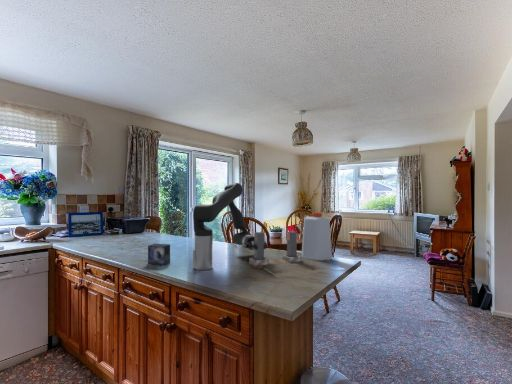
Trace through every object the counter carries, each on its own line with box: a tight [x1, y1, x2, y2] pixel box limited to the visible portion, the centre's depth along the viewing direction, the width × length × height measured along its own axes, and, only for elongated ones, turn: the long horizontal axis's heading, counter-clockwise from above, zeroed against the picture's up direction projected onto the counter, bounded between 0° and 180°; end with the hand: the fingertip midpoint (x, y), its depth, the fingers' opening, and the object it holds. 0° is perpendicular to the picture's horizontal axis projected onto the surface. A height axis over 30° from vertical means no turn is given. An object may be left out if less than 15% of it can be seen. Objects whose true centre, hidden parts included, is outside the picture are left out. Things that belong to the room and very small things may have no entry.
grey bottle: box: [301, 211, 333, 261], centre depth 167 cm, size 15×15×28 cm
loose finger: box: [253, 231, 266, 260], centre depth 150 cm, size 5×4×16 cm
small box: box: [147, 243, 171, 266], centre depth 155 cm, size 11×6×10 cm, turn 76°
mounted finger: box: [285, 230, 298, 257], centre depth 157 cm, size 5×4×16 cm
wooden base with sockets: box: [248, 254, 303, 269], centre depth 154 cm, size 28×9×4 cm, turn 111°
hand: (261, 247), depth 148 cm, fingers open, 4 cm apart
